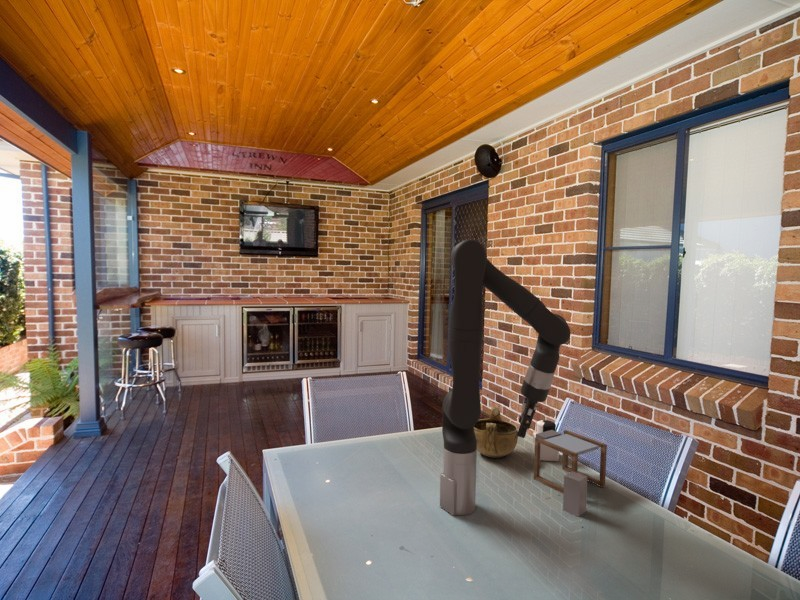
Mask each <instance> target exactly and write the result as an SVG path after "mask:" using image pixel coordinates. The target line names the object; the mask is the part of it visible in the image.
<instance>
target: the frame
mask: <svg viewBox="0 0 800 600" xmlns="http://www.w3.org/2000/svg"><path fill="white" fill-rule="evenodd" d="M563 434H568V435H571V436H573V437H576V438H579V439H582V440H584V441H587V442H590V443H592V444H595V445H598V446H599V447H598V448H600V459H599V460H600V462H599V479H596V478H594V477H592V476H590V475H588V474H585V473H583V472H581V471H578V466H579V465H578V460H579V455H578V453H575V452H573V451H570V450H568V449H565V448H563V447H560V446H558V445H555V444H553V443H550V442H548V441H545V440H543V439H540V438H535V456H534V458H533V460H534V461H533V462H534V463H533V467H534V468H533V480H535V481H537V482H539V483H542V484H543V485H545V486H547V487H549V488H551V489H553V490H555V491H557V492H559V493H561V494H563V495H564V486H561V485H558V484H557V483H555V482H553V481H551V480H549V479H546V478H545V477H542V476H540V472H541V471H540V468H541V465H540V464H541V460H540V443H541V444H543V445H545V446H548V447H550V448H553V449H555V450H558V451H559V453H562V470H563V471H565V472H567V471H568V472H567V473H569V472H572V471H573V472H576V473H579V474H582V475H584V476H587V480H589V481H591V482H594V483H596V484H598V485H600V486H602V487H603V488H605V487H606V475H607V474H606V473H607V451H608V450H607V449H608V445H607V444H606V443H603V442H600V441H597V440H595V439H592V438H590V437H586V436H584V435H581V434H579V433H575V432H572V431H570V430H567V429H565V430H563ZM569 456H570V457H571V465H570V466H569ZM589 481H588V482H589ZM591 482H590V483H591ZM596 484H595V485H596ZM598 485H597V486H598ZM600 486H599V487H600ZM604 486H605V487H604ZM602 487H601V488H602Z"/></svg>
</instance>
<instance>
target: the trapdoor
mask: <svg viewBox="0 0 800 600" xmlns="http://www.w3.org/2000/svg"><path fill="white" fill-rule="evenodd" d="M536 438H540V439H543V440H545V441H548V442H550V443H553V444H555V445H558V446H560V447H563V448H565V449H568V450H570V451H573V452H575V453H578V456H580V455H584V454H586V453H589V452H592V451H596V450H597V451H598V450H599V448H600V447H599V446H598V445H595V444H592V443H590V442H587V441H584V440H582V439H579V438H576V437H573V436H571V435H568V434H564V433H561V432H559V431H554V430H549V431H546V432H542V433H538V434H536Z"/></svg>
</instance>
